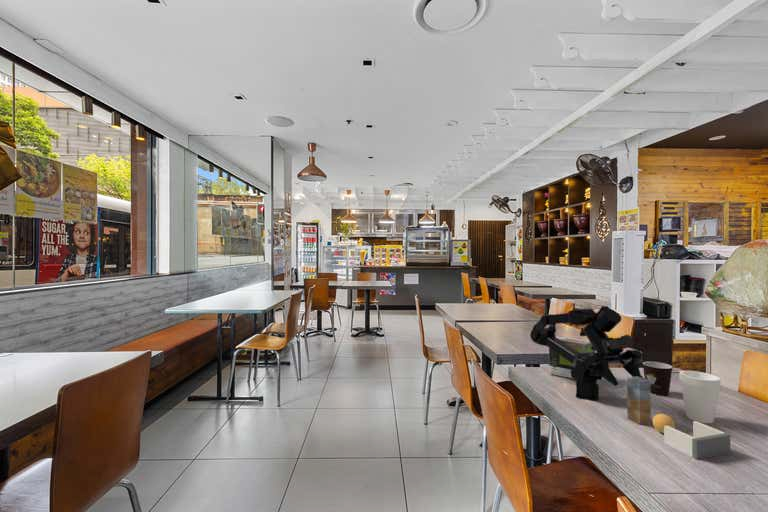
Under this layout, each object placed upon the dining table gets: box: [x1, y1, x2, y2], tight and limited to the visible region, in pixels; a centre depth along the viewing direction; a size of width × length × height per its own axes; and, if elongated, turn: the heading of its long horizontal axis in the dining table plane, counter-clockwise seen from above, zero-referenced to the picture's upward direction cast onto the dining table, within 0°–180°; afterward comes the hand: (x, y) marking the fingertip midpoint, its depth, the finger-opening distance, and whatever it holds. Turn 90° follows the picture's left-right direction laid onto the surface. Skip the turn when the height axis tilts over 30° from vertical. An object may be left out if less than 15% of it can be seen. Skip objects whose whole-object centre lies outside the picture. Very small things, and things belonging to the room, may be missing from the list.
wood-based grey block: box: [626, 376, 652, 426], centre depth 109 cm, size 4×4×12 cm
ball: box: [652, 413, 676, 434], centre depth 102 cm, size 5×5×5 cm
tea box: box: [548, 336, 596, 380], centre depth 151 cm, size 15×10×15 cm, turn 42°
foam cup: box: [679, 370, 722, 424], centre depth 111 cm, size 10×9×13 cm
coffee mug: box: [638, 361, 673, 397], centre depth 133 cm, size 12×9×10 cm
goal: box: [663, 420, 731, 460], centre depth 94 cm, size 8×11×4 cm
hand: (629, 384), depth 112 cm, fingers open, 9 cm apart
